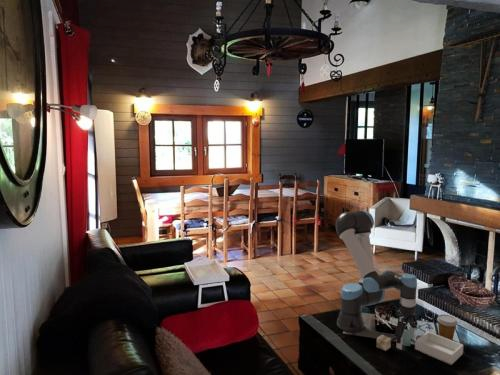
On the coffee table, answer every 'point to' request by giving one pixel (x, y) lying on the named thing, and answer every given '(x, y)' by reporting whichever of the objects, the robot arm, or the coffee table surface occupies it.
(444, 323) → the disposable coffee cup
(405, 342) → the teal capsule
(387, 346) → the beech cube
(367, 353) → the coffee table surface
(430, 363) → the coffee table surface
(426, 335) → the tote
